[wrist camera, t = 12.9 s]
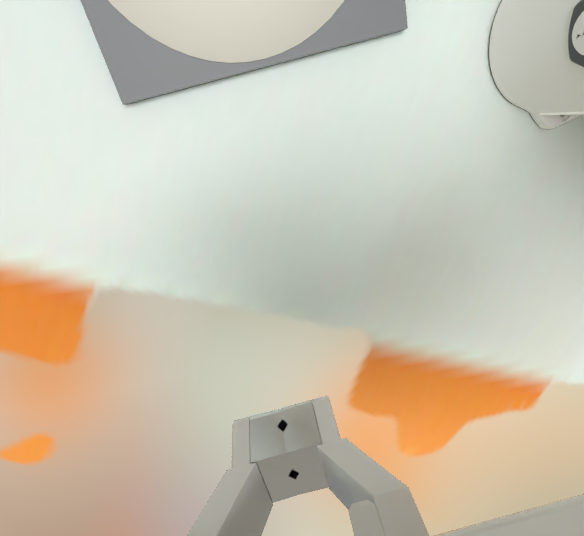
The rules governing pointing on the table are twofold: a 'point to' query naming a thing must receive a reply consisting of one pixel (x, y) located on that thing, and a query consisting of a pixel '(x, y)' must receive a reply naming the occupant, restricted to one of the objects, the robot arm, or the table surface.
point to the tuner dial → (224, 37)
